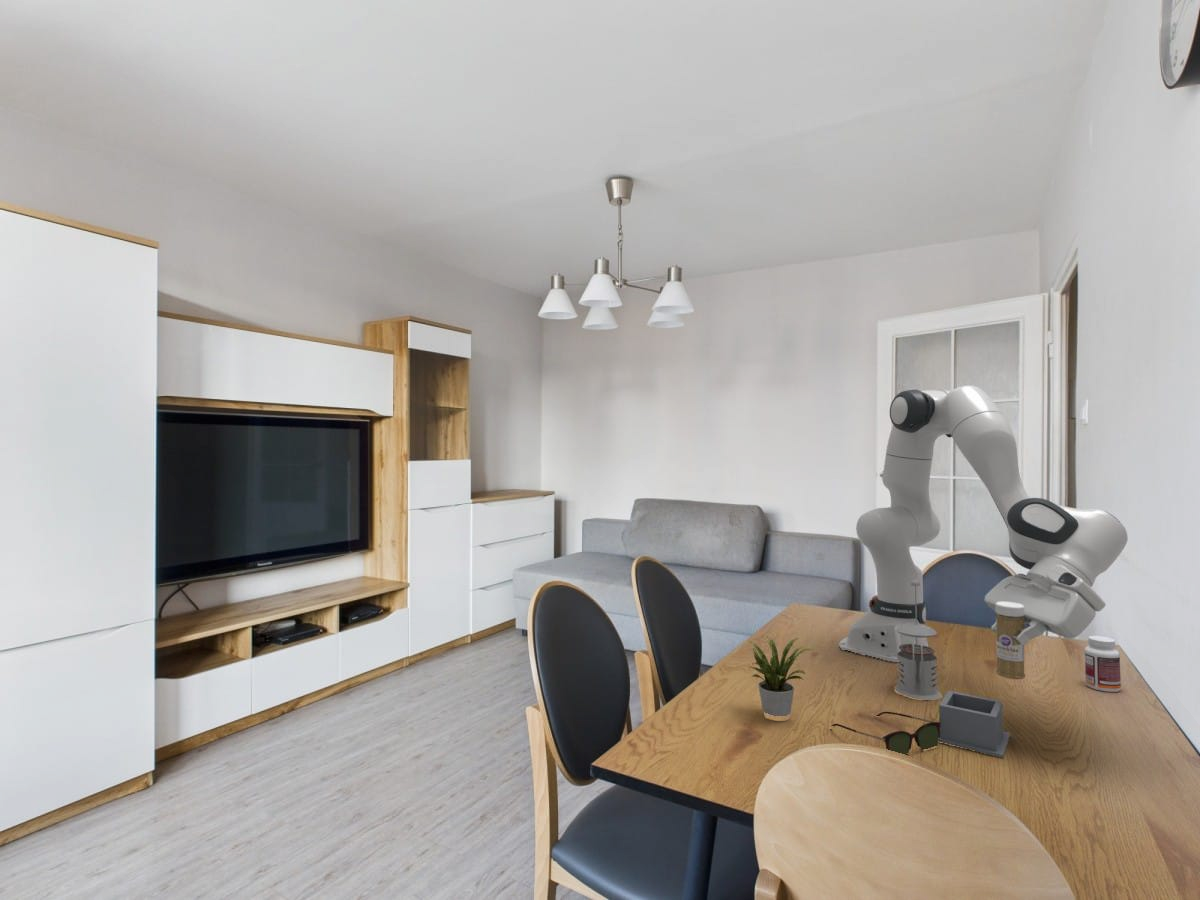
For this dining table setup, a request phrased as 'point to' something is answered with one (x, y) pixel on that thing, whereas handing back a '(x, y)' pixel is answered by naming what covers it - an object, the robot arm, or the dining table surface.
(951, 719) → the square holder
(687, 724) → the dining table surface
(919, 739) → the sunglasses
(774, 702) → the house plant
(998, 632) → the sprinkles bottle
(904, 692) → the french press
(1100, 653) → the pill bottle
